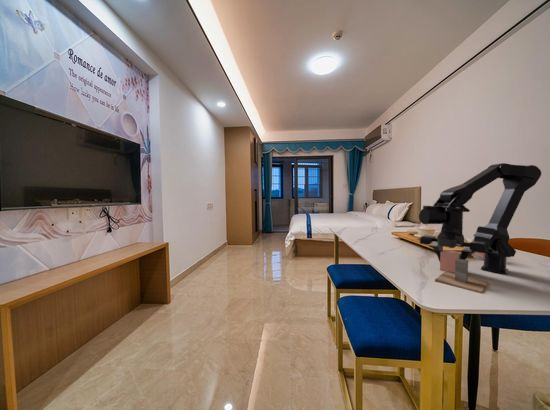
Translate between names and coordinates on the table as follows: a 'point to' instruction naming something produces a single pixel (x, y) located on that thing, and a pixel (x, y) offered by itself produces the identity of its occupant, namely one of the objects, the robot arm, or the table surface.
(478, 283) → the taupe inverted t block
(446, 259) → the pink rectangular block
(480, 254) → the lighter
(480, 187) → the robot arm
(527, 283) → the table surface
